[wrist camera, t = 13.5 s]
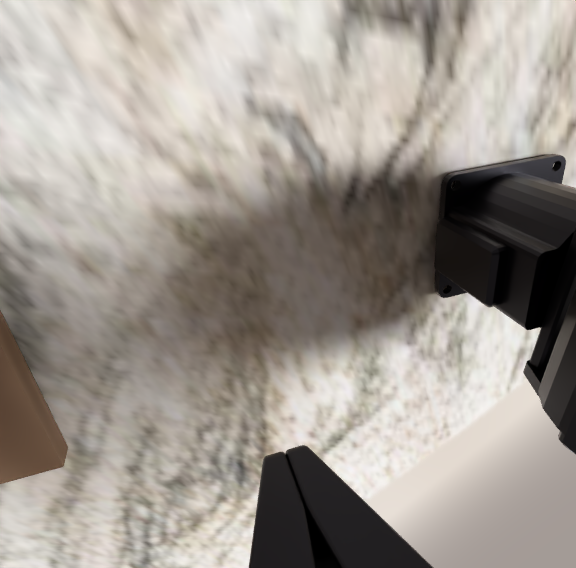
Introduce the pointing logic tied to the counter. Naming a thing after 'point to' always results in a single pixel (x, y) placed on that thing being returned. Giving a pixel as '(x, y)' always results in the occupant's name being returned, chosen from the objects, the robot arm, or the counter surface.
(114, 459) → the counter surface
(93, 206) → the counter surface
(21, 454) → the walnut board
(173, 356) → the counter surface
